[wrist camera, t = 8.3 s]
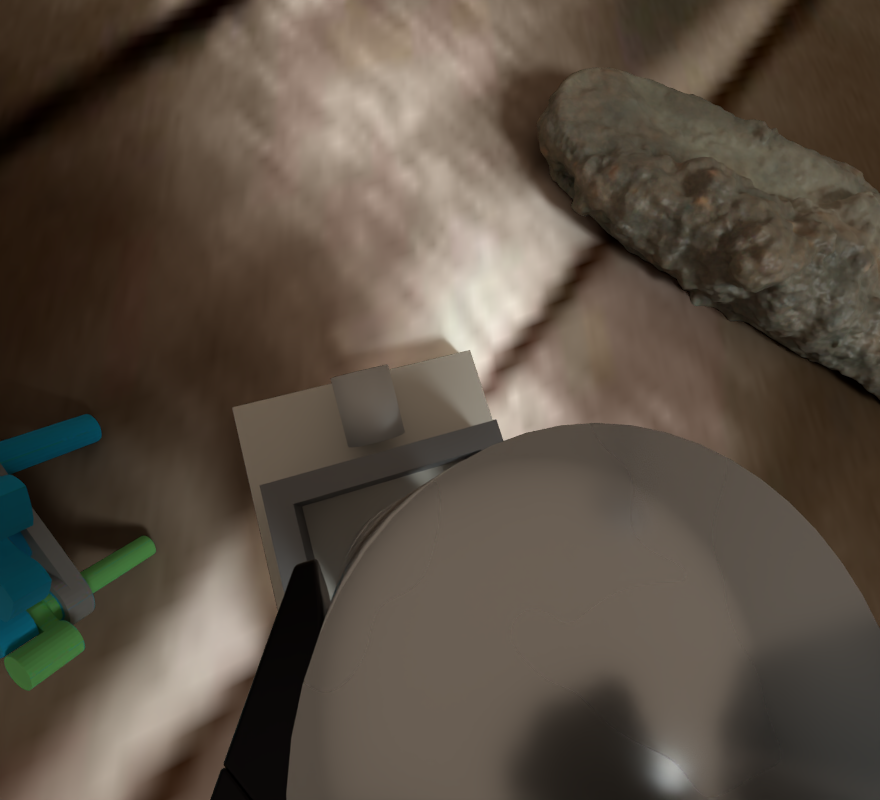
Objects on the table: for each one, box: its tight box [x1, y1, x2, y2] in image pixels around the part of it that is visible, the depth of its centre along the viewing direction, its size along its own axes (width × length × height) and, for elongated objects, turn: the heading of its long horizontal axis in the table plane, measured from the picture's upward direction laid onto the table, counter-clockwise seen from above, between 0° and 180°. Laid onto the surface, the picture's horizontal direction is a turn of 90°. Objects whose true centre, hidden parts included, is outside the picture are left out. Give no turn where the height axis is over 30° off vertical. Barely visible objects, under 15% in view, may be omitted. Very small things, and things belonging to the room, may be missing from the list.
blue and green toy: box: [0, 414, 156, 690], centre depth 14 cm, size 11×6×10 cm
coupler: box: [286, 423, 880, 800], centre depth 10 cm, size 4×4×13 cm
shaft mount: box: [232, 350, 503, 610], centre depth 16 cm, size 14×9×4 cm, turn 17°
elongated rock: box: [537, 68, 880, 400], centre depth 23 cm, size 35×5×10 cm
